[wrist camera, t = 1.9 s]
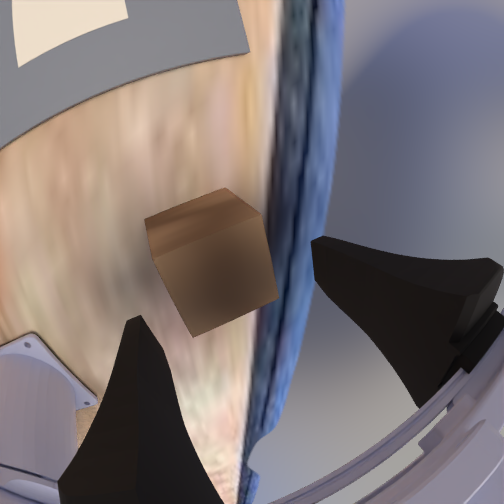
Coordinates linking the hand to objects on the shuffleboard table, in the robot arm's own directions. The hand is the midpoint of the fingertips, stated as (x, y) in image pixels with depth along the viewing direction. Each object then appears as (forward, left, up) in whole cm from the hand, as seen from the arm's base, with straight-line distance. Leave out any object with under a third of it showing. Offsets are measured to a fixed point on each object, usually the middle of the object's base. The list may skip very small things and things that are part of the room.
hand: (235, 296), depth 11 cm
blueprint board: (-3, +15, -6) cm, 16 cm away
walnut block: (0, 0, -6) cm, 6 cm away
